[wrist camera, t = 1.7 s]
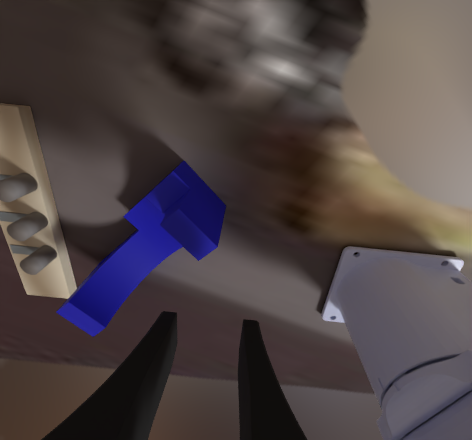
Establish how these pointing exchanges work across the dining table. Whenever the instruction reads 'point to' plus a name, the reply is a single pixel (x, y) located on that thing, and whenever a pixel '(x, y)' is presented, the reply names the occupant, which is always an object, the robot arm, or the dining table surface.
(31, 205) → the coat hook rack
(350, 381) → the dining table surface
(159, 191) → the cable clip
